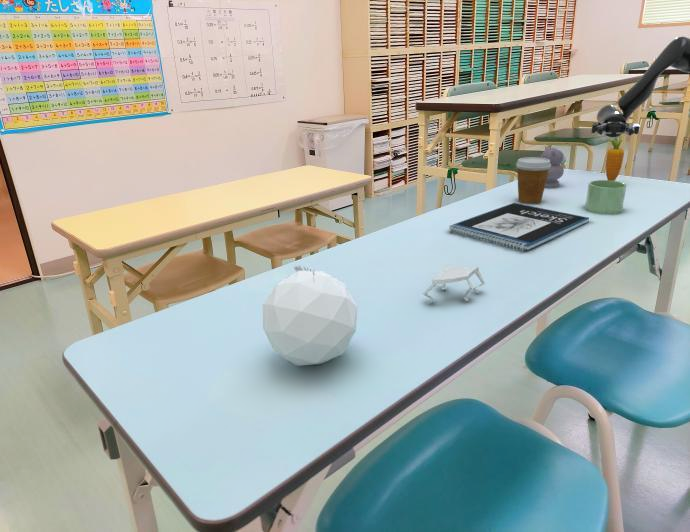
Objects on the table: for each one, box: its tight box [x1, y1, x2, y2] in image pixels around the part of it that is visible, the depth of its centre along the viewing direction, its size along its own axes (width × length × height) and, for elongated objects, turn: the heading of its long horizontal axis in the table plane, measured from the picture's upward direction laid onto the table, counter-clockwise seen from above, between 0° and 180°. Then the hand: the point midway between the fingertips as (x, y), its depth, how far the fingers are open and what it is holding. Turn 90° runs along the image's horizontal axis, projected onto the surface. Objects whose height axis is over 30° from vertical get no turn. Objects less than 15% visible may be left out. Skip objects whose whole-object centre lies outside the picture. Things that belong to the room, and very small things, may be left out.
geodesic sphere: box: [262, 265, 358, 367], centre depth 77 cm, size 15×14×14 cm
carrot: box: [605, 135, 625, 181], centre depth 163 cm, size 5×5×15 cm
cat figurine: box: [540, 145, 565, 189], centre depth 165 cm, size 8×8×12 cm
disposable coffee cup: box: [515, 156, 551, 205], centre depth 149 cm, size 10×10×12 cm
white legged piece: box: [422, 265, 486, 304], centre depth 95 cm, size 12×8×5 cm
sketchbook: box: [448, 202, 590, 252], centre depth 130 cm, size 22×30×2 cm
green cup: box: [585, 179, 627, 215], centre depth 140 cm, size 9×9×7 cm
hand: (615, 131), depth 169 cm, fingers open, 8 cm apart
